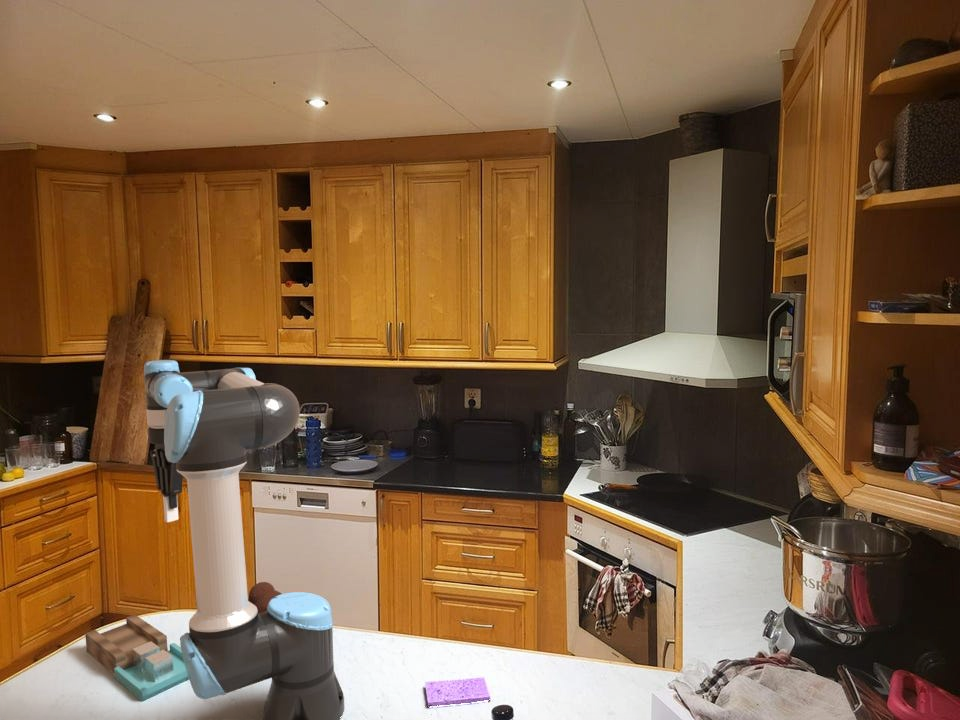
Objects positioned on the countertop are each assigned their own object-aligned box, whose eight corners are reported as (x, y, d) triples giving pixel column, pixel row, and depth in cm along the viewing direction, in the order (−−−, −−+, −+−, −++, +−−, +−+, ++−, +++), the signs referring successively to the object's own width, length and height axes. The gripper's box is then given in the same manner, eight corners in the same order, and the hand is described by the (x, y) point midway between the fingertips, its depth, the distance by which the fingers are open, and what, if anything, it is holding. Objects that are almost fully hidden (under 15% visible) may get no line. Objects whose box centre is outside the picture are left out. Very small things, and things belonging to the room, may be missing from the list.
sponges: (425, 690, 139) (425, 681, 139) (485, 684, 141) (485, 675, 141) (427, 711, 132) (427, 702, 132) (490, 704, 134) (490, 695, 134)
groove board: (167, 654, 152) (166, 635, 152) (117, 676, 144) (115, 657, 143) (136, 632, 162) (134, 614, 162) (86, 651, 154) (85, 633, 154)
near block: (164, 666, 146) (173, 673, 144) (146, 675, 143) (155, 682, 140) (163, 649, 146) (172, 655, 143) (144, 657, 143) (153, 664, 140)
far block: (160, 664, 147) (159, 647, 147) (142, 672, 144) (140, 655, 143) (152, 658, 150) (151, 641, 149) (133, 666, 146) (132, 648, 146)
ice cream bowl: (230, 657, 151) (227, 593, 149) (260, 632, 162) (257, 572, 160) (271, 664, 148) (268, 599, 146) (299, 638, 159) (296, 577, 157)
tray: (203, 672, 145) (203, 662, 145) (142, 701, 135) (141, 691, 135) (174, 651, 154) (173, 642, 153) (114, 677, 144) (113, 668, 143)
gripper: (194, 425, 159) (200, 521, 162) (167, 419, 168) (173, 510, 170) (162, 431, 154) (169, 530, 156) (136, 424, 162) (143, 518, 165)
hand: (171, 520), depth 163 cm, fingers closed
